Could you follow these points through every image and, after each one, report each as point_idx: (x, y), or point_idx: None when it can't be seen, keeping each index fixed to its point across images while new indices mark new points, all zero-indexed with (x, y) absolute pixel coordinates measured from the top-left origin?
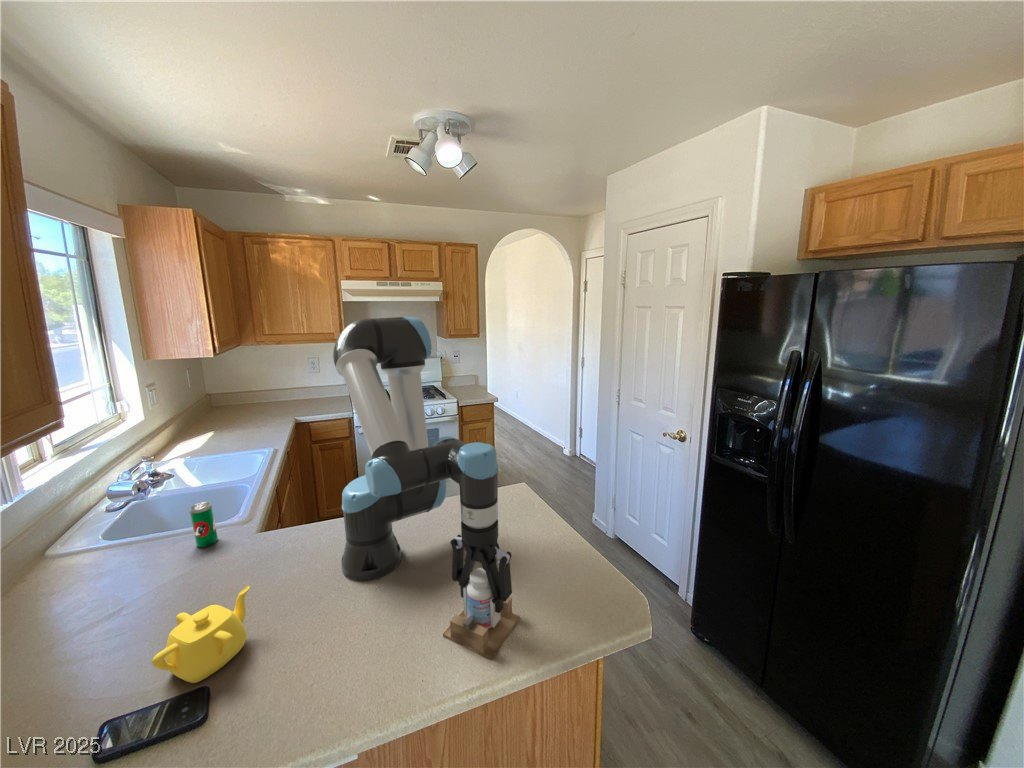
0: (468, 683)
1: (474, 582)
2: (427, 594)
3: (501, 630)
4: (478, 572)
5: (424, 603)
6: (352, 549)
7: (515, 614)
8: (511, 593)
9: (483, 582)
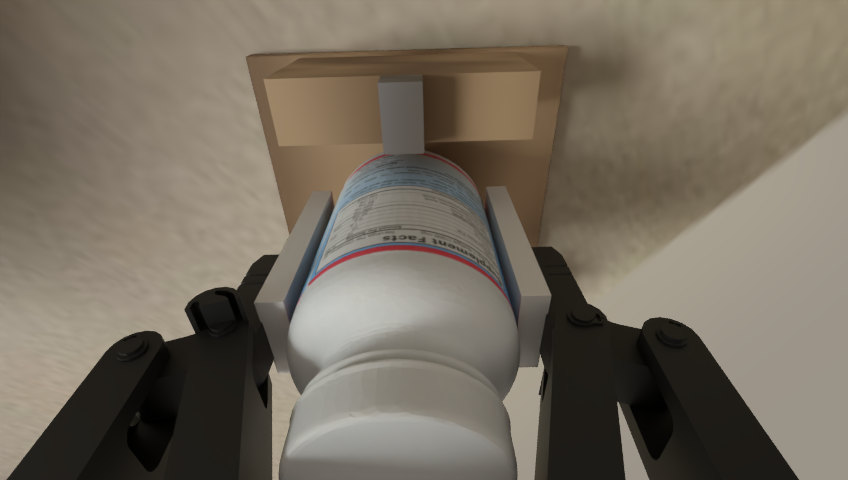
0: None
1: None
2: (32, 163)
3: (510, 181)
4: (351, 476)
5: (89, 213)
6: None
7: (536, 49)
8: (690, 334)
9: None
